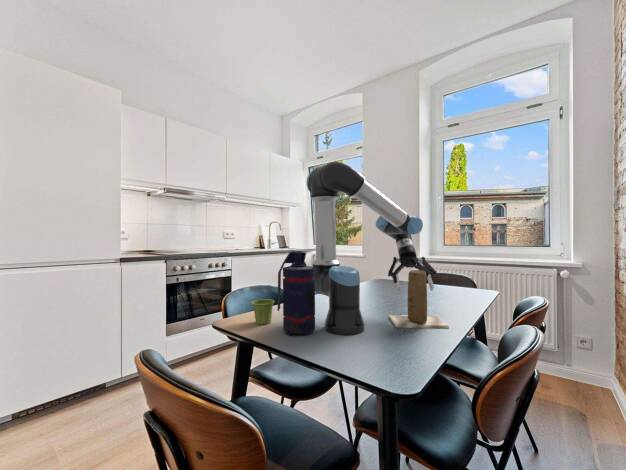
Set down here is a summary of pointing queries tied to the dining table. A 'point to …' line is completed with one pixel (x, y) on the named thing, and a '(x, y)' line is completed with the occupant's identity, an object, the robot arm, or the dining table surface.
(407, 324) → the letter board
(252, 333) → the dining table surface
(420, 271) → the block
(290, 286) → the grenade
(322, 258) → the robot arm
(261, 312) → the plant pot
